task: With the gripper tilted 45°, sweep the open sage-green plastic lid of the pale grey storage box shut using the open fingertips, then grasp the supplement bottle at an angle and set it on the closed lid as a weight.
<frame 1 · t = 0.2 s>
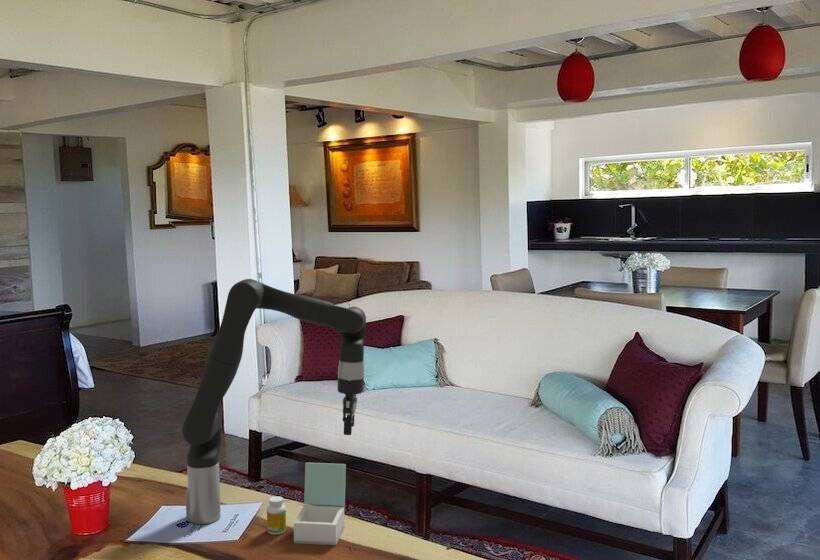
hand: (348, 430, 220), 29 cm above the table, tool pointing down, fingers open, 8 cm apart
supplement bottle: (276, 531, 219), on the table
lid: (324, 484, 223), point 12 cm above the table, hinge at 100.0°
storage box: (319, 534, 217), on the table
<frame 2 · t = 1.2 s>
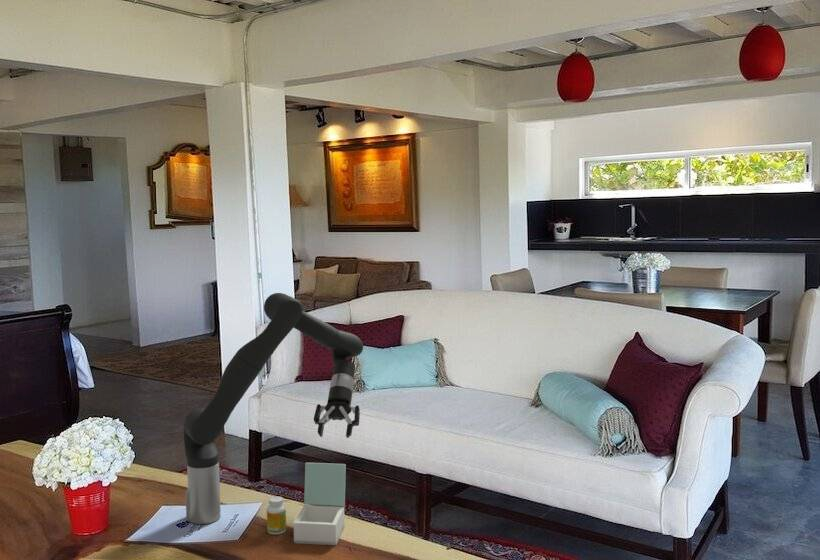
hand: (334, 436, 235), 22 cm above the table, tool tilted 45°, fingers open, 8 cm apart
nothing on the table moved.
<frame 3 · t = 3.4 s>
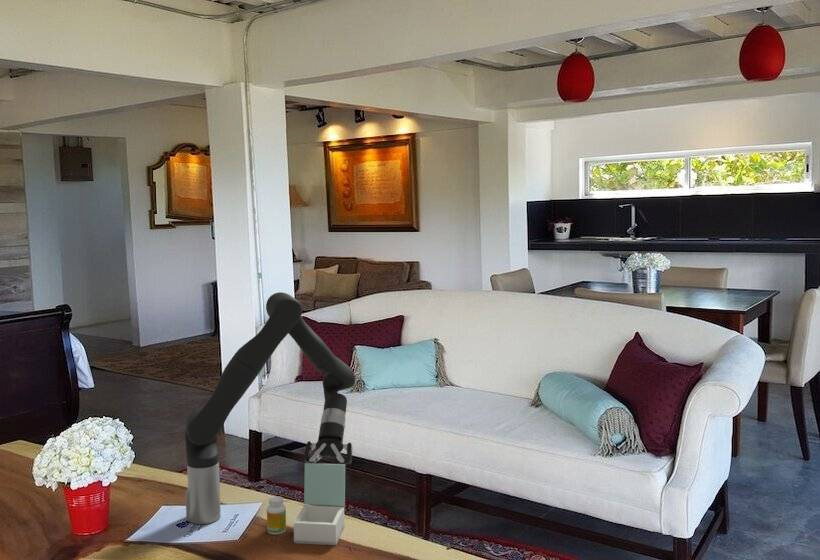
hand: (325, 476, 224), 14 cm above the table, tool tilted 45°
lid: (324, 484, 222), point 12 cm above the table, hinge at 96.6°, touching gripper
everything else where it was.
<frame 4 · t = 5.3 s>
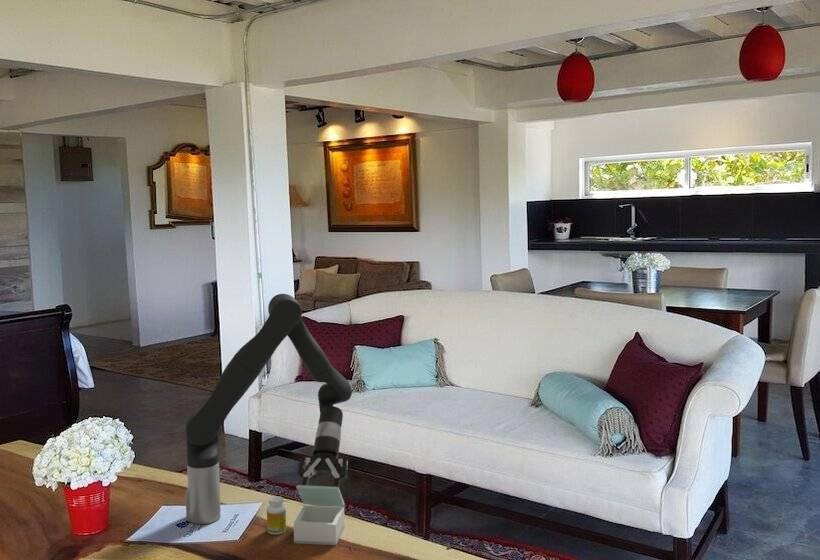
hand: (319, 491, 216), 12 cm above the table, tool tilted 45°
lid: (320, 495, 218), point 11 cm above the table, hinge at 44.9°, touching gripper
everything else where it was.
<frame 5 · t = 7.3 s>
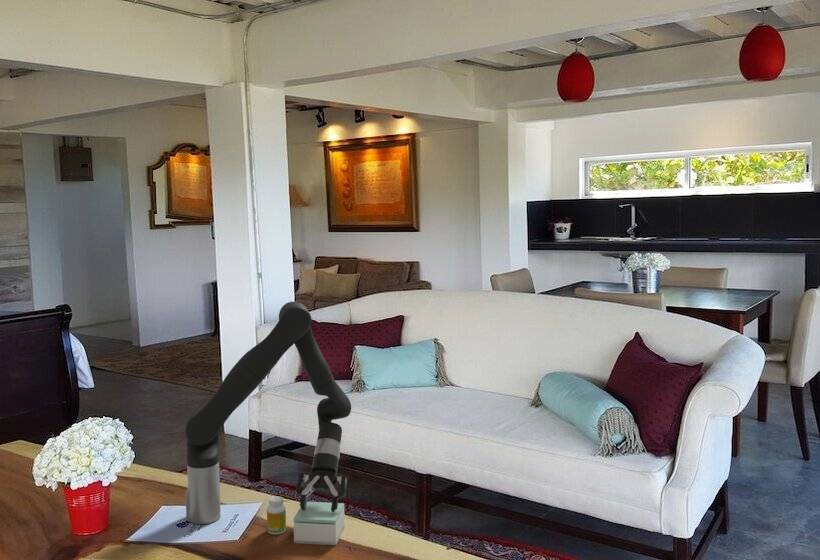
hand: (318, 510, 214), 8 cm above the table, tool tilted 45°, fingers open, 8 cm apart
lid: (319, 512, 216), point 7 cm above the table, hinge at 0.6°
everything else where it was.
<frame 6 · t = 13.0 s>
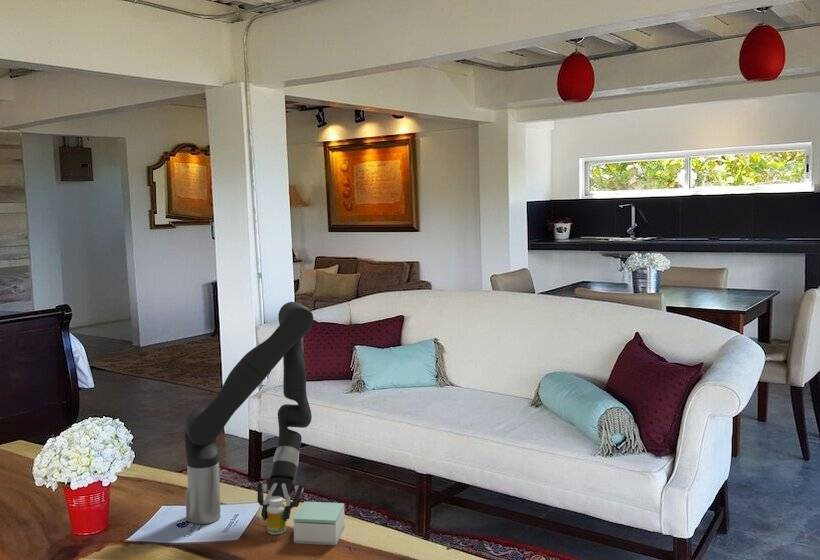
hand: (274, 519, 217), 4 cm above the table, tool tilted 45°, fingers closed on supplement bottle, 5 cm apart
supplement bottle: (276, 531, 219), on the table, touching gripper
everything else where it was.
when the fingers open (13 cm above the table, at t = 17.3 s): supplement bottle drops 2 cm, resting on lid.
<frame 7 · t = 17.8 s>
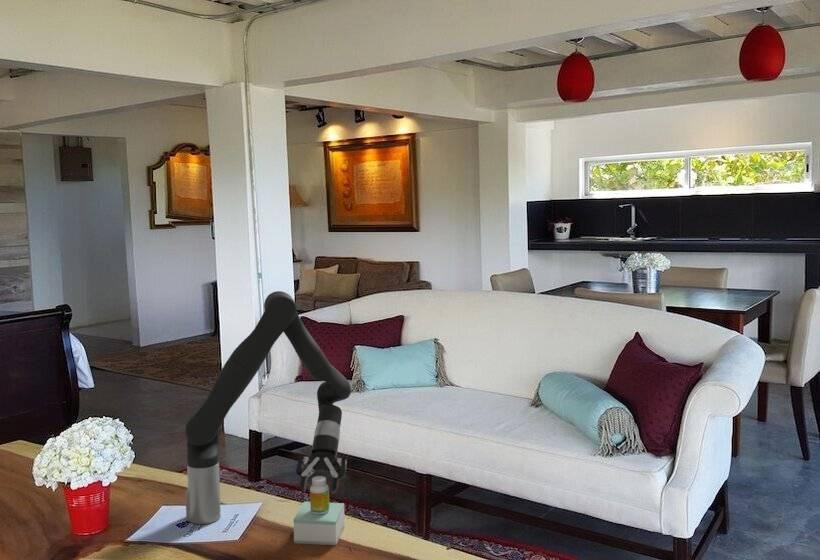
hand: (318, 491, 214), 13 cm above the table, tool tilted 45°, fingers open, 8 cm apart
supplement bottle: (320, 511, 216), point 7 cm above the table, touching lid
lid: (319, 512, 216), point 7 cm above the table, hinge at -1.0°, touching supplement bottle
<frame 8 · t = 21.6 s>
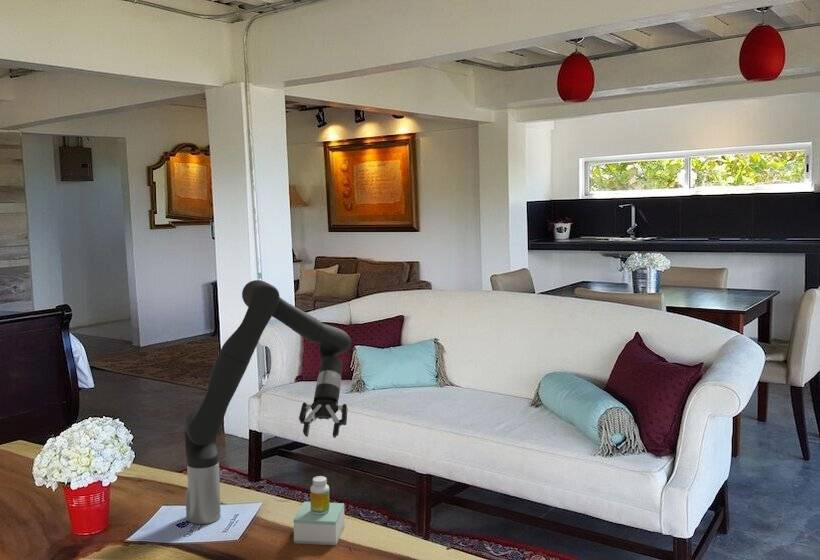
hand: (320, 436, 225), 26 cm above the table, tool tilted 45°, fingers open, 8 cm apart
nothing on the table moved.
at the end: lid at -1° (first picture: +100°); supplement bottle inside the target area on the storage box (0.2 cm from its centre), point 6.8 cm above the storage box's base; supplement bottle tilted 1° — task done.
